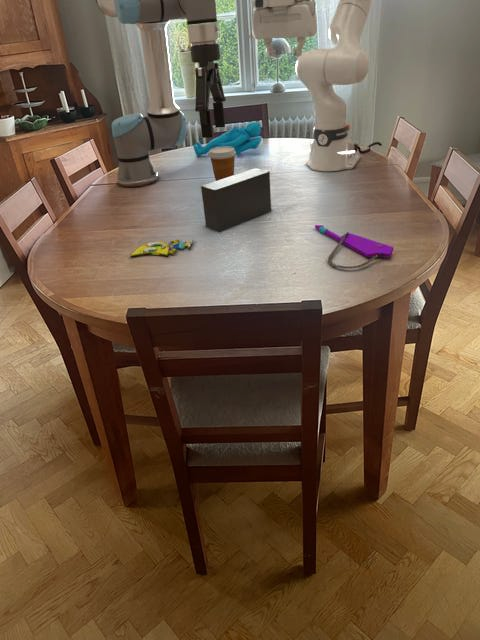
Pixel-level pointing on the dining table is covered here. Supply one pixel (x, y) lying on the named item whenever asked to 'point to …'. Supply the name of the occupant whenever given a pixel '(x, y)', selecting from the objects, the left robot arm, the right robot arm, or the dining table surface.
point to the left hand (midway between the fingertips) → (214, 132)
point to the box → (236, 199)
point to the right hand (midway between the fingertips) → (284, 56)
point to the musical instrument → (358, 246)
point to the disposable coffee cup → (222, 161)
